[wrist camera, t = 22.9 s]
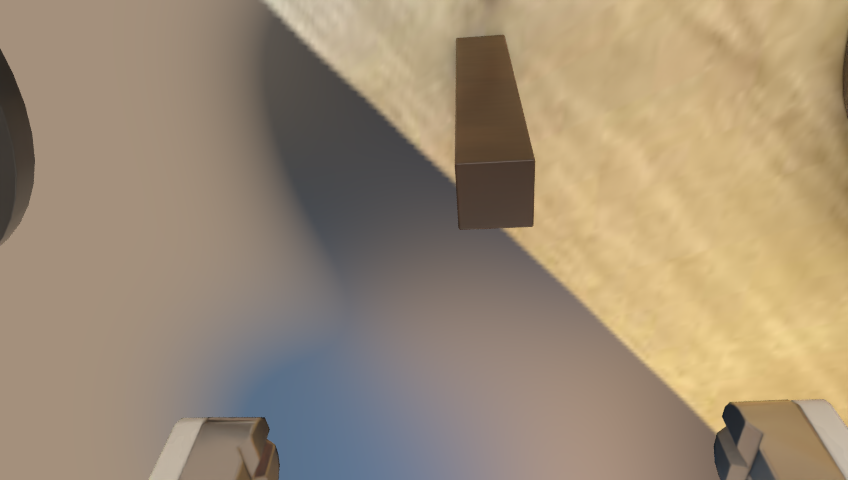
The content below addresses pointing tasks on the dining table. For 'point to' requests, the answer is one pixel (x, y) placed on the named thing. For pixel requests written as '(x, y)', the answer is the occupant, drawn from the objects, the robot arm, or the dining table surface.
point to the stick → (491, 139)
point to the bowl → (846, 79)
